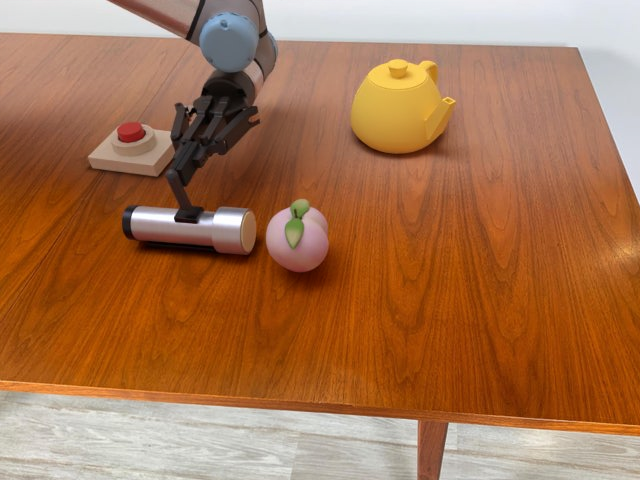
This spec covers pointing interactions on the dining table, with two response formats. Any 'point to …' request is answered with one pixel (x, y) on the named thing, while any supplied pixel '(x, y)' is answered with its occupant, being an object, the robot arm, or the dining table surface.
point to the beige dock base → (134, 153)
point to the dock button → (130, 132)
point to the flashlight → (192, 228)
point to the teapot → (400, 107)
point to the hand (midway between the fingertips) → (178, 178)
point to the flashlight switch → (178, 189)
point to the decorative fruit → (298, 237)
